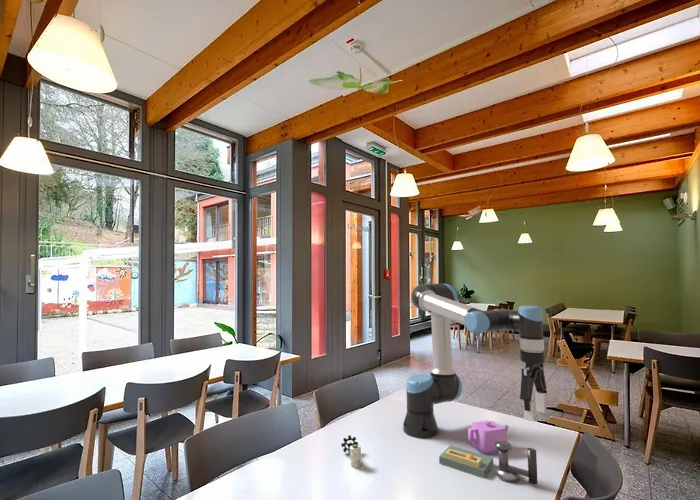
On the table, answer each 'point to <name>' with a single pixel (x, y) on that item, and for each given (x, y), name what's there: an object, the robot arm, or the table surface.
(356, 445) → the valve
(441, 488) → the table surface
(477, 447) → the teapot
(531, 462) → the cam capstan
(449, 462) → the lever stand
